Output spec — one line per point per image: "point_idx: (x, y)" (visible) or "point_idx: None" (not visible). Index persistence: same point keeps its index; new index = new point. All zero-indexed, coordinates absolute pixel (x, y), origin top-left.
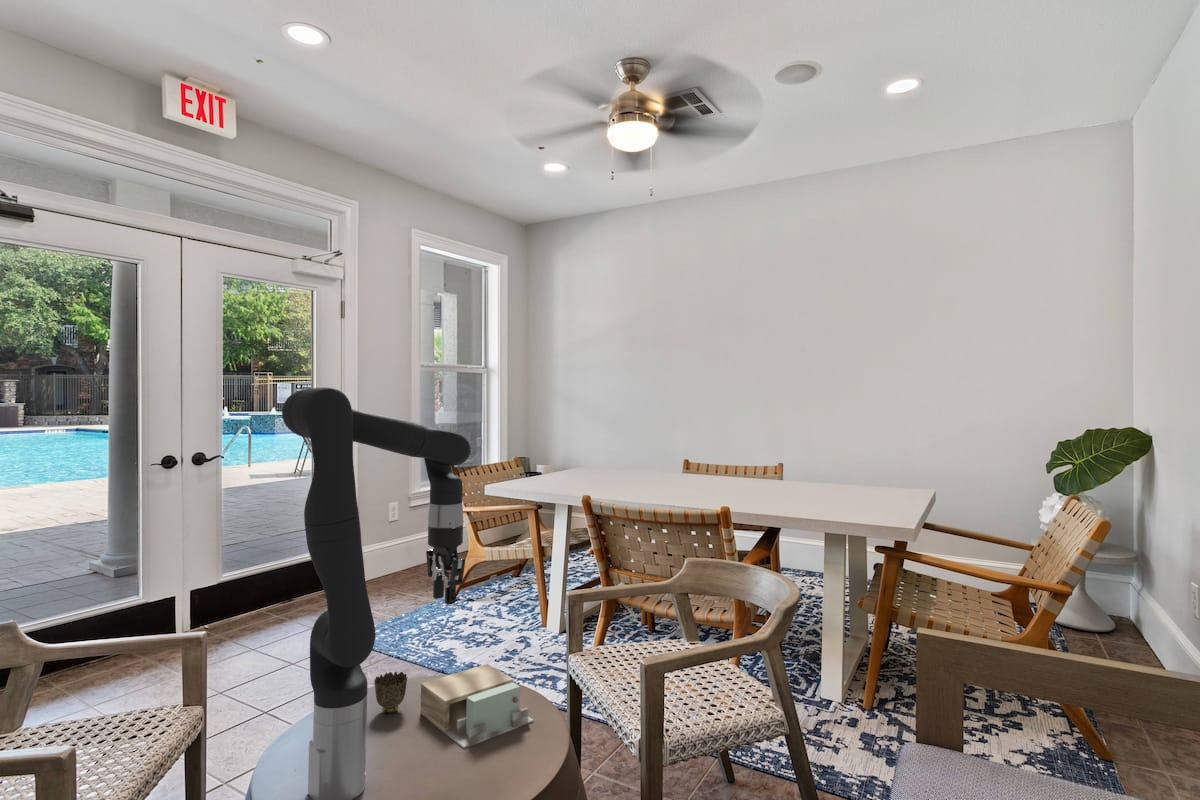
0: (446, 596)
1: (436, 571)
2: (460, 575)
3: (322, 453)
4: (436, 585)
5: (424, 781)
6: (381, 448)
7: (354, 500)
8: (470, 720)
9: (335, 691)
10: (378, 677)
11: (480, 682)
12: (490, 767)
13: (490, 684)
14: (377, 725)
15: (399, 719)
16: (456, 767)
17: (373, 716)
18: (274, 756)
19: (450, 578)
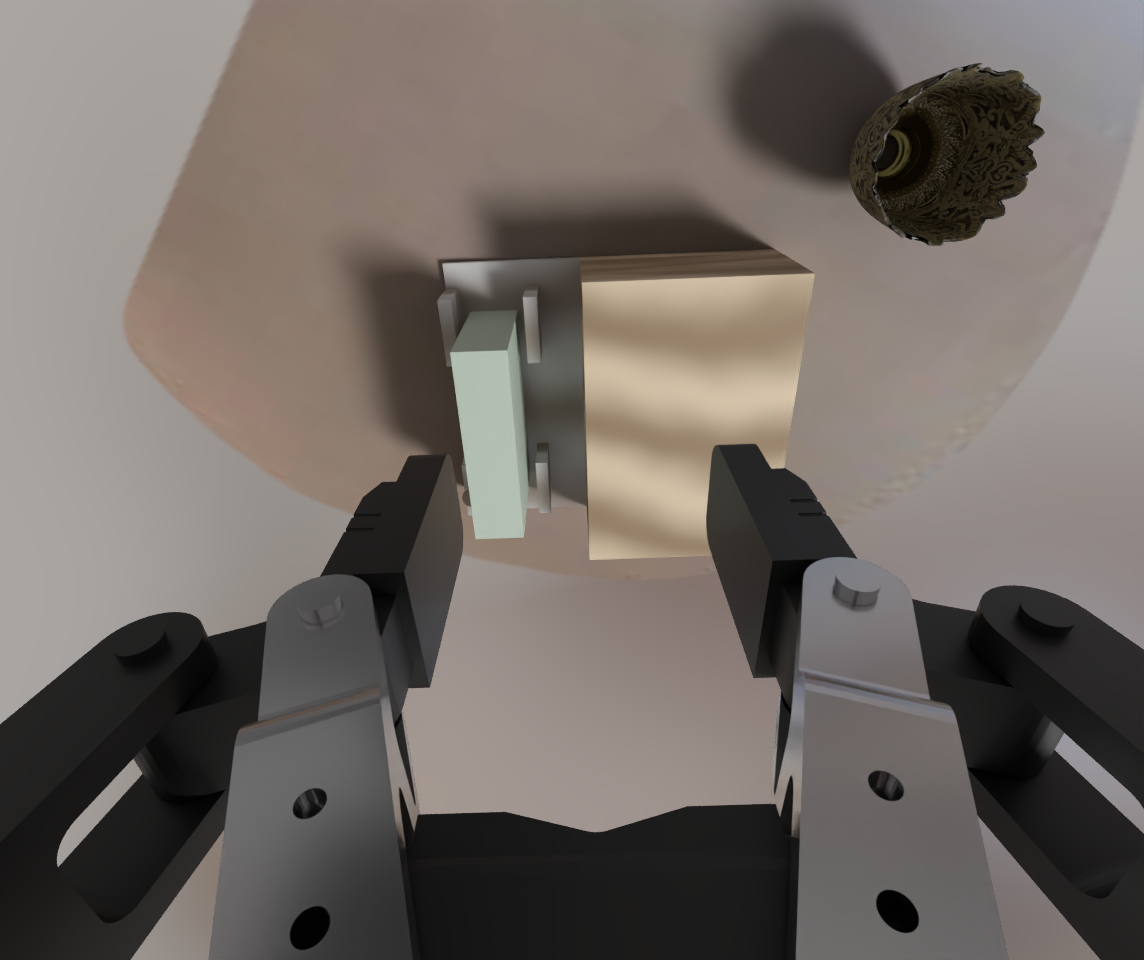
0: (388, 499)
1: (793, 733)
2: (77, 888)
3: None
4: (753, 552)
5: (307, 37)
6: None
7: None
8: (481, 327)
9: None
10: (1033, 111)
11: (644, 465)
12: (291, 278)
13: (603, 483)
14: (818, 53)
15: (794, 158)
16: (343, 184)
17: (903, 70)
18: None
19: (91, 728)
